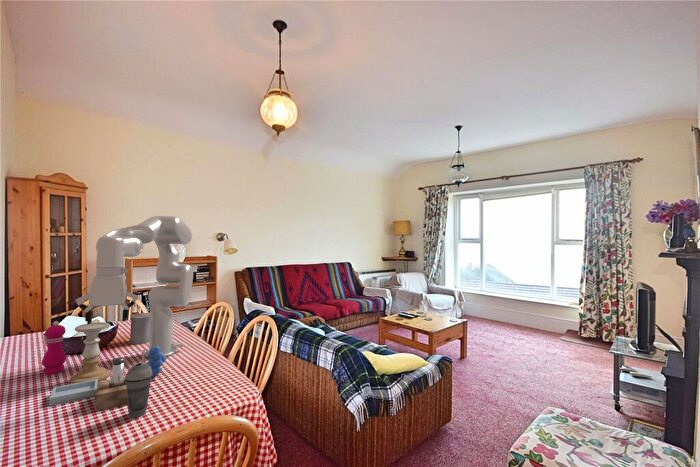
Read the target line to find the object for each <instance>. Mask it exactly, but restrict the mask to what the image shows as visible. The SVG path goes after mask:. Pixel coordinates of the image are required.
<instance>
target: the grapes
mask: <svg viewBox="0 0 700 467" xmlns="http://www.w3.org/2000/svg"><path fill="white" fill-rule="evenodd" d="M160 351H161V349H160V348H159V347H152V348H151V349H150V351H149V352H150V353H149V354H148V356H147V357H148V361H147V363H146V364H147V365H149V366H150V367H151V369H152V374H153V376H152V378H153V377H154V378H155V377H157V376H158V375H159V374H160V373H161V372H162V370H163V368H162V367H161V366H163V364H164V363H165V362H166V361H167V359H168V358H167V357H165V356H163V354H162V353H161V352H160ZM147 357H146V358H147Z"/></svg>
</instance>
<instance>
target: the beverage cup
mask: <svg viewBox="0 0 700 467" xmlns="http://www.w3.org/2000/svg"><path fill="white" fill-rule="evenodd" d="M145 352H146V349H144V348H143V350H142V355H141V362H139V363H136V364H133V365H132V366H131V367H130V368H129V369H128V370H127V372H126V374H125V377H126V378H125V381H126V387H127V400H128V404H127V412H128V417H129V418H130V419H136V418H141V417H143V416H144V415H146V414H147V409H148V402H149V396H150V387H151V382H152V379H153V374H152V369H151V367H150V366H149V365H147V363H145V362H144V359H145Z"/></svg>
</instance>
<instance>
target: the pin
mask: <svg viewBox="0 0 700 467" xmlns="http://www.w3.org/2000/svg"><path fill="white" fill-rule="evenodd" d="M111 371H112V372H111V378H112V388H114V387H119V386H123V381H124V377H125V357H123V356H122V357H121V356H120V357H115V358H113V359H112V370H111Z"/></svg>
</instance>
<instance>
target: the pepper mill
mask: <svg viewBox="0 0 700 467" xmlns="http://www.w3.org/2000/svg"><path fill="white" fill-rule="evenodd" d="M59 323H60V322H59V321H57V320H56V321H54V322H52V325H51V326H49V327H47V328H46V330H45V332H44V335H45V337H46V343H47V348H46V349H47V350H46V352H45V353H44V356H43V357H42V359H41V365H42V367H43V368H42V374H43V375H48V376H49V375H56V374H59V373H62V372H63V371H64V370H65V364H64V363H66V361H67V355H66V352H65V351H64V349H63V341H64V335H65V334H66V327H65V326H64V325H61V324H59Z"/></svg>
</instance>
